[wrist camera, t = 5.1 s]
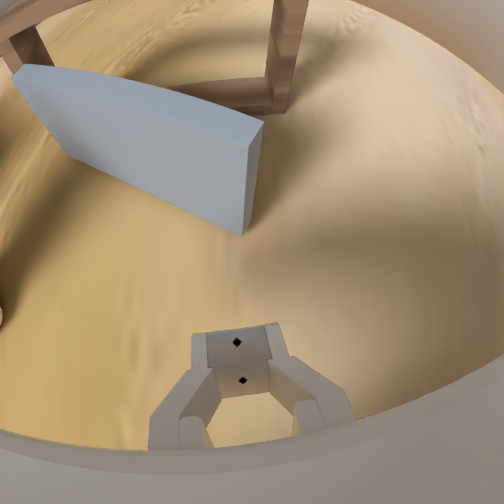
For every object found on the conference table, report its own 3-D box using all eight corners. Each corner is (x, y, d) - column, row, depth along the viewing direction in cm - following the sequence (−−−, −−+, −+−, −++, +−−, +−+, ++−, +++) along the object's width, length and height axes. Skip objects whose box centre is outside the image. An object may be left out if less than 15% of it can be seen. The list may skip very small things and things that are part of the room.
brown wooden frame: (284, 113, 28) (317, -40, 12) (67, 149, 26) (-13, 32, 9) (275, 86, 30) (299, -54, 13) (73, 120, 27) (10, 7, 10)
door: (241, 237, 23) (248, 146, 12) (67, 155, 25) (10, 78, 13) (250, 220, 24) (264, 121, 12) (76, 143, 25) (24, 63, 14)
